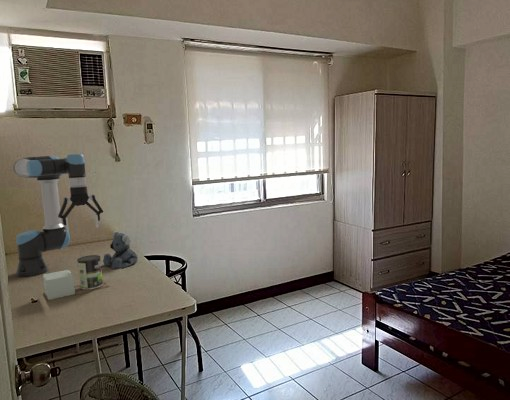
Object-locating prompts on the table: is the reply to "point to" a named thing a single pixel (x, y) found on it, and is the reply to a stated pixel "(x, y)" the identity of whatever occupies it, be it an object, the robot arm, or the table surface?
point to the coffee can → (90, 272)
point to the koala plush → (120, 252)
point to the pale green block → (58, 284)
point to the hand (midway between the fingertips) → (82, 229)
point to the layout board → (79, 290)
